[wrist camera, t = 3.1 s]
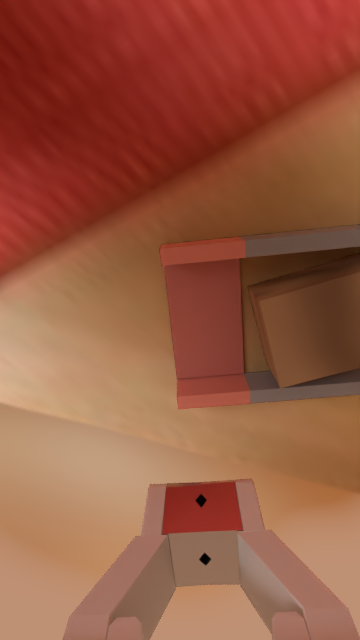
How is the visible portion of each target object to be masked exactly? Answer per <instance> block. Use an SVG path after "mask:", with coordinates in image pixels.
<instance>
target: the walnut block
mask: <svg viewBox="0 0 360 640" xmlns="http://www.w3.org/2000/svg"><path fill="white" fill-rule="evenodd" d="M247 288H248V292H249V296H250V300H251V304H252V308H253V312H254V316H255V320H256V324H257V328H258V332H259V336H260V340H261V344H262V348H263V352H264V356H265V360H266V363H267V365H268V367H269V368H270V370H271V372H272V374H273V376H274V378H275V380H276V381H277V383H278V385H279V387H280V388H284V387H288V386H292V385H295V384H299V383H303V382H307V381H311V380H315V379H318V378H322V377H326V376H330V375H334V374H338V373H341V372H345V371H349V370H353V369H357V368H360V253H357V254H354V255H351V256H347V257H344V258H341V259H337V260H334V261H331V262H327V263H324V264H320V265H317V266H314V267H310V268H307V269H304V270H300V271H297V272H294V273H290V274H287V275H284V276H280V277H277V278H273V279H270V280H267V281H263V282H260V283H257V284H253V285H250V286H247Z"/></svg>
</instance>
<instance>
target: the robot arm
mask: <svg viewBox="0 0 360 640" xmlns="http://www.w3.org/2000/svg"><path fill="white" fill-rule="evenodd" d="M208 584H209V585H212V584H213V585H215V584H219V585H222V584H240V586H241V588H242V589H243V591H244V592H245V594H246V595H247V597H248V599H249V600H250V601H251V603H252V604H253V606H254V608H255V609H256V611H257V612H258V614H259V616H260V617H261V618H262V620H263V622H264V623H265V625H266V626H267V628H268V629H269V631H270V632H271V634H272V640H360V637H359V634H358V632H357V629H356V627H355V624H354V622H353V619H352V617H351V615H350V612H349V610H348V608H347V607H346V606H345V605H344V604H343V603H342V602H341V601H340V600H339V599H338V598H337V597H336V596H335V594H334V593H333V592H332V591H331V590H330V589H329V588H327V586H326V585H324V584H323V582H322V581H321V580H320V579H319V578H317V576H316V575H315V574H314V573H313V572H312V571H311V570H310V569H309V568H308V567H307V566H306V565H305V564H304V563H303V562H302V561H301V560H300V559H299V558H298V557H297V556H296V555H295V554H294V553H293V552H292V551H291V550H290V549H289V548H288V547H287V546H286V545H285V544H284V543H283V542H282V541H281V540H280V539H279V538H278V537H277V536H276V535H275V534H274V533H273V532H272V531H271V530H265V527H264V523H263V519H262V515H261V511H260V506H259V503H258V498H257V494H256V490H255V486H254V482H253V480H252V479H240V480H235V481H234V480H227V481H211V482H200V483H167V484H150V486H149V488H148V493H147V499H146V506H145V513H144V519H143V526H142V532H141V536H136V537H135V538H134V539H133V540H132V541H131V542H130V544H129V545H128V546H127V547H126V549H125V550H124V551H123V552H122V553H121V555H120V556H119V557H118V558H117V560H116V561H115V562H114V563H113V564H112V566H111V567H110V568H109V569H108V571H107V572H106V573H105V574H104V576H103V577H102V578H101V579H100V580H99V582H98V583H97V584H96V585H95V586H94V588H93V589H92V590H91V591H90V592H89V594H88V595H87V596H86V597H85V599H84V600H83V601H82V602H81V603H80V605H79V606H78V607H77V608H76V609H75V611H74V612H73V613H72V614H71V616H70V617H69V621H68V624H67V627H66V630H65V634H64V637H63V640H150V638H151V636H152V634H153V632H154V630H155V628H156V626H157V624H158V622H159V620H160V619H161V617H162V615H163V613H164V611H165V609H166V607H167V605H168V603H169V601H170V599H171V597H172V595H173V593H174V591H175V587H181V586H195V585H208Z"/></svg>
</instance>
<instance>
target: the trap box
mask: <svg viewBox="0 0 360 640" xmlns="http://www.w3.org/2000/svg"><path fill="white" fill-rule="evenodd" d="M350 247H360V225H350V226H340V227H330V228H320V229H310V230H300V231H290V232H280V233H270V234H260V235H250V236H240V237H230V238H220V239H211V240H201V241H191V242H181V243H171V244H162V245H161V247H160V249H159V250H160V259H161V266H164V269H165V278H166V287H167V295H168V304H169V313H170V321H171V330H172V339H173V348H174V356H175V365H176V374H177V403H178V409H188V408H201V407H213V406H225V405H238V404H250V403H262V402H275V401H287V400H300V399H312V398H324V397H337V396H349V395H360V368H357V369H353V370H349V371H345V372H341V373H338V374H334V375H330V376H326V377H322V378H318V379H315V380H311V381H307V382H303V383H299V384H295V385H292V386H288V387H284V388H280V387H279V385H278V383H277V381H276V380H275V378H274V376H273V374H272V372H271V371H263V372H251V373H244V361H243V336H242V310H241V285H240V260H239V258H248V257H258V256H268V255H278V254H289V253H299V252H309V251H319V250H329V249H340V248H350Z"/></svg>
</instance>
